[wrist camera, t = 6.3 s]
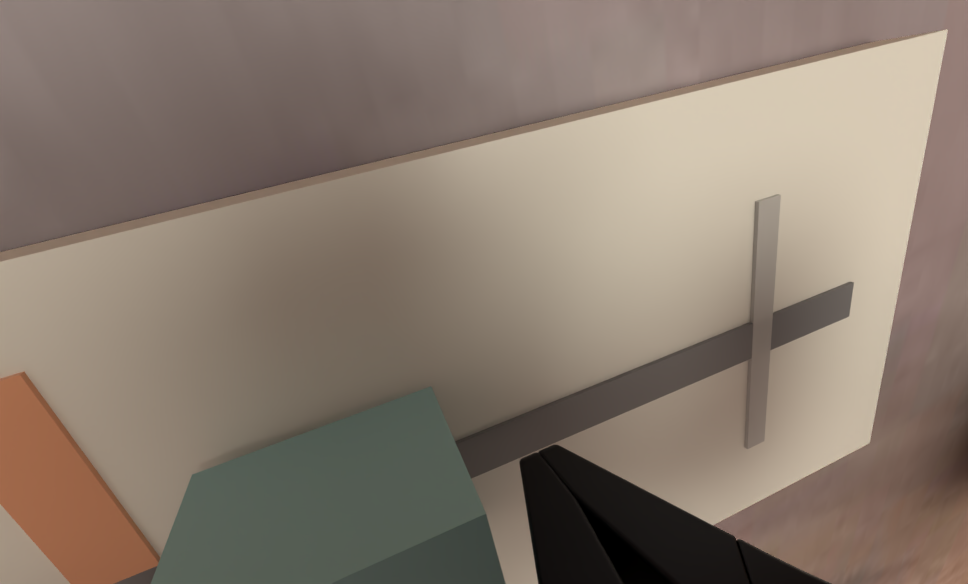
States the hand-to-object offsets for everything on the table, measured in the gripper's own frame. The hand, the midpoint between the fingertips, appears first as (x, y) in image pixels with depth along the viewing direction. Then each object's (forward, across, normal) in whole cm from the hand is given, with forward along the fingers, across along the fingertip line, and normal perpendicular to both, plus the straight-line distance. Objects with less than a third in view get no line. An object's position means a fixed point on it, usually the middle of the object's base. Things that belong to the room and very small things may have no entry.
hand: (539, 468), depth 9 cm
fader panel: (+3, 0, 0) cm, 3 cm away
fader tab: (+1, +4, 0) cm, 4 cm away
